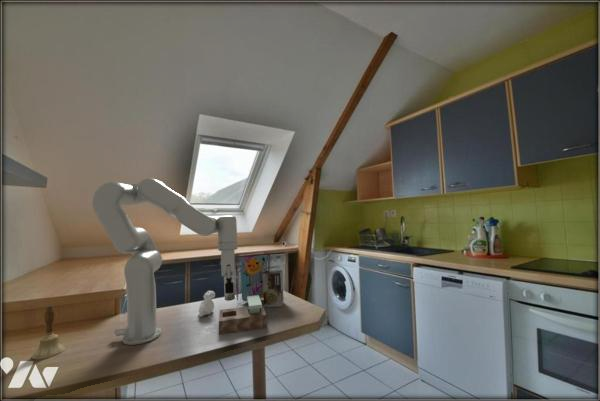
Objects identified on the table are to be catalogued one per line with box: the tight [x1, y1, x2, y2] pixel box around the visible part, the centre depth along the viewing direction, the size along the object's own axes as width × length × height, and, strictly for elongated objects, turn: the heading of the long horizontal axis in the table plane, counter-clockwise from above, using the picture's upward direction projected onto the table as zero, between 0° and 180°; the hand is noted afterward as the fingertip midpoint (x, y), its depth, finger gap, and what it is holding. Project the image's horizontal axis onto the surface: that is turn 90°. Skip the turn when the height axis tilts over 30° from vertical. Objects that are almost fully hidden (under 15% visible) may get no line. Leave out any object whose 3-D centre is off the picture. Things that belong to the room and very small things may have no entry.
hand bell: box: [31, 305, 66, 361], centre depth 91 cm, size 8×8×16 cm
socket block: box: [218, 304, 267, 335], centre depth 108 cm, size 18×12×5 cm, turn 105°
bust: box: [198, 290, 216, 318], centre depth 121 cm, size 12×8×11 cm
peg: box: [223, 273, 236, 301], centre depth 107 cm, size 4×4×10 cm
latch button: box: [246, 295, 263, 314], centre depth 109 cm, size 5×12×6 cm, turn 15°
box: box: [219, 251, 272, 305], centre depth 133 cm, size 25×6×24 cm, turn 115°
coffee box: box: [262, 269, 285, 308], centre depth 130 cm, size 9×6×16 cm
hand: (229, 290), depth 107 cm, fingers closed on peg, 4 cm apart
